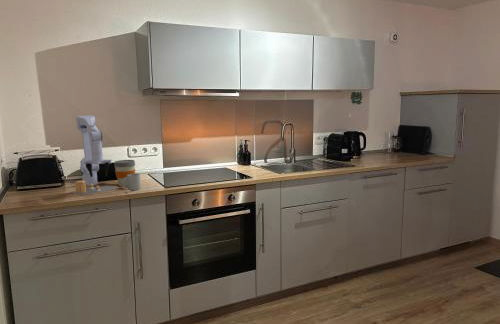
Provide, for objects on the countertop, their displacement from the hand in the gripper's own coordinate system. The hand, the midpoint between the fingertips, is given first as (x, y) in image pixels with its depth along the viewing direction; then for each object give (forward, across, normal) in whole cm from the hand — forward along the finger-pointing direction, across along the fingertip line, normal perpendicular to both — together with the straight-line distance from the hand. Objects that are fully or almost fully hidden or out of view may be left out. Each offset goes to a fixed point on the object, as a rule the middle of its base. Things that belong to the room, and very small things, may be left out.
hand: (98, 176), depth 209 cm
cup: (+10, +17, +6) cm, 21 cm away
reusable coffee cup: (+10, +12, +22) cm, 27 cm away
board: (+10, -4, +4) cm, 11 cm away
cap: (+9, -10, +1) cm, 14 cm away
